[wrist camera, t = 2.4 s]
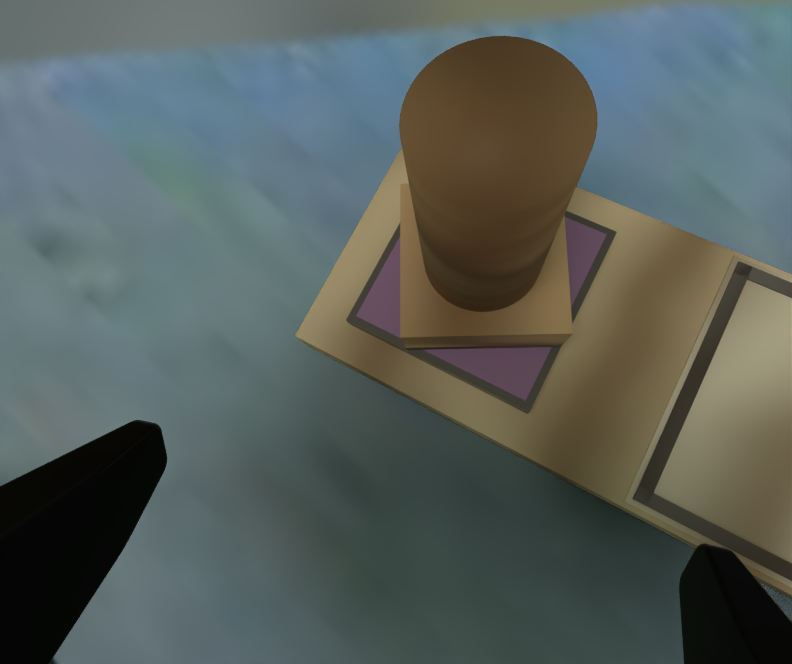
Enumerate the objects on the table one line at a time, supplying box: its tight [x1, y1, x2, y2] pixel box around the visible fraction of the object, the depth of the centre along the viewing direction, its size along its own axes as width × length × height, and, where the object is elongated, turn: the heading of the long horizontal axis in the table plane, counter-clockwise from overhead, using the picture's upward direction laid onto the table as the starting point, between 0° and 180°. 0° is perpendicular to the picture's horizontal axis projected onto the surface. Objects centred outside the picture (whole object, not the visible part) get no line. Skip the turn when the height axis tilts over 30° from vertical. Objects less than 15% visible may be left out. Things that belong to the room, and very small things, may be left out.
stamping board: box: [295, 148, 792, 599], centre depth 21 cm, size 24×10×2 cm, turn 62°
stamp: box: [399, 36, 597, 350], centre depth 16 cm, size 6×6×10 cm
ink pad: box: [346, 211, 617, 414], centre depth 22 cm, size 8×8×1 cm
